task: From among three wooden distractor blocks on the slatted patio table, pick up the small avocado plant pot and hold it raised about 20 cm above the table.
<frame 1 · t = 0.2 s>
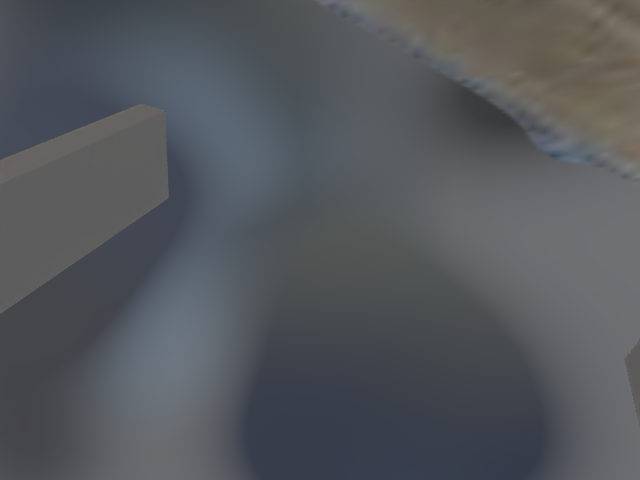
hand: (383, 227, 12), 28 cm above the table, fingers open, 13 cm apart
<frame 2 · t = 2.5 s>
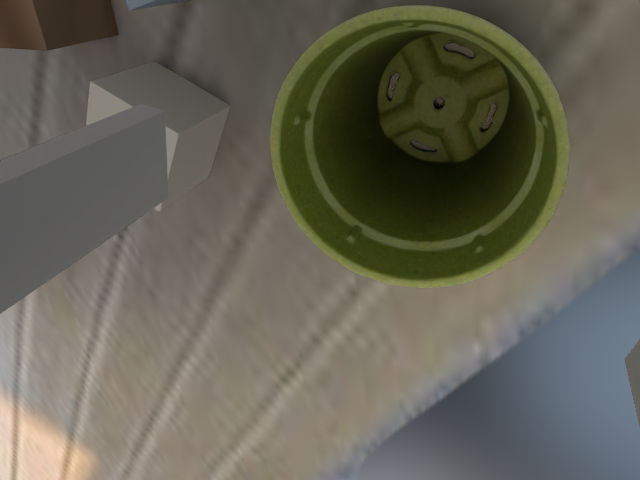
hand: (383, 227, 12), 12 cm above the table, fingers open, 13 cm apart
cream block: (184, 121, 28), on the table
plant pot: (442, 97, 22), on the table
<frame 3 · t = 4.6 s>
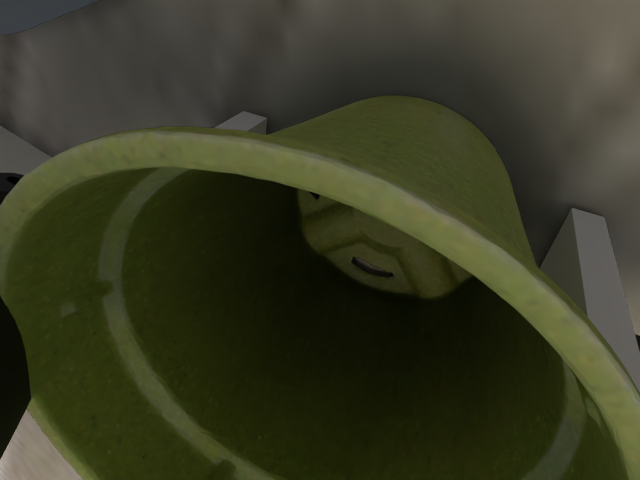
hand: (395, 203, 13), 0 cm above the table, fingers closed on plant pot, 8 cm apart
cream block: (41, 200, 19), on the table
plant pot: (399, 196, 14), on the table, touching gripper
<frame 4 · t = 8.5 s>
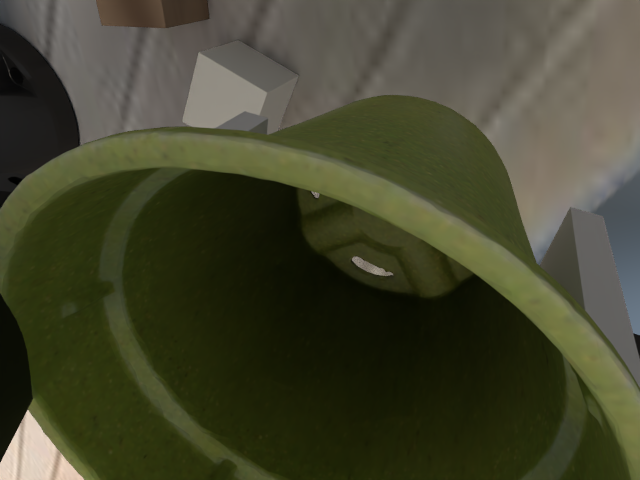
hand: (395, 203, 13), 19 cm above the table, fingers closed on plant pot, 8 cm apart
cream block: (258, 89, 34), on the table
plant pot: (399, 196, 14), point 19 cm above the table, touching gripper
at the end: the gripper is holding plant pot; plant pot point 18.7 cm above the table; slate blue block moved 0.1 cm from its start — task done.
